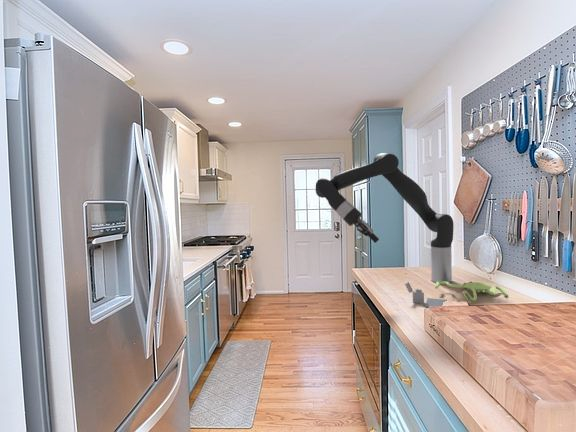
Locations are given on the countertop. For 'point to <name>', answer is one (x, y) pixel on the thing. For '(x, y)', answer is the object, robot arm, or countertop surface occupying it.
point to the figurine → (473, 288)
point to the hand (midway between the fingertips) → (377, 241)
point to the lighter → (416, 294)
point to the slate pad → (434, 302)
